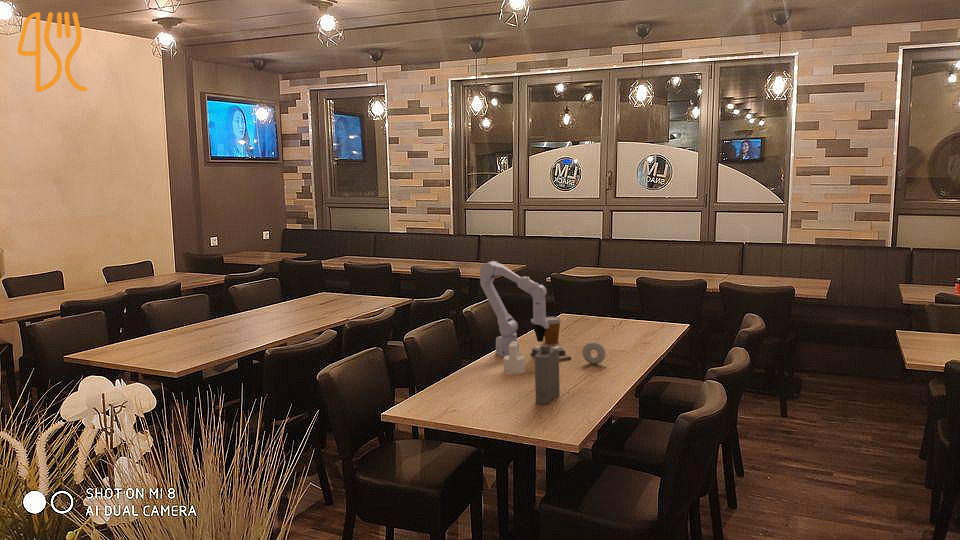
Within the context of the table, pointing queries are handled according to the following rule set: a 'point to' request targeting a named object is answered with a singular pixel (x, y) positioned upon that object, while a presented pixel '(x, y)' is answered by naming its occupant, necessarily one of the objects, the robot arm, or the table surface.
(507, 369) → the cylinder with rectangular tab
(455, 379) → the table surface
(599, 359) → the donut
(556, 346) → the tile two
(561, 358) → the dark brown cabinet frame
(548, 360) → the flask
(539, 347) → the tile one
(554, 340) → the disposable coffee cup
